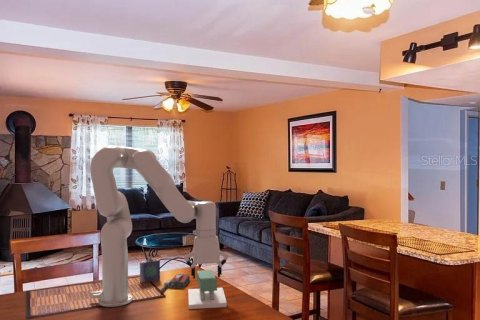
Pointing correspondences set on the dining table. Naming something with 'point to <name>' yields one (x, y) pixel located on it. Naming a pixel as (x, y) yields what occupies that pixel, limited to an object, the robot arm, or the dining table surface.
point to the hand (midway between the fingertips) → (206, 277)
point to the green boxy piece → (206, 280)
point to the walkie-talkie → (177, 281)
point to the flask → (149, 270)
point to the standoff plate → (206, 299)
